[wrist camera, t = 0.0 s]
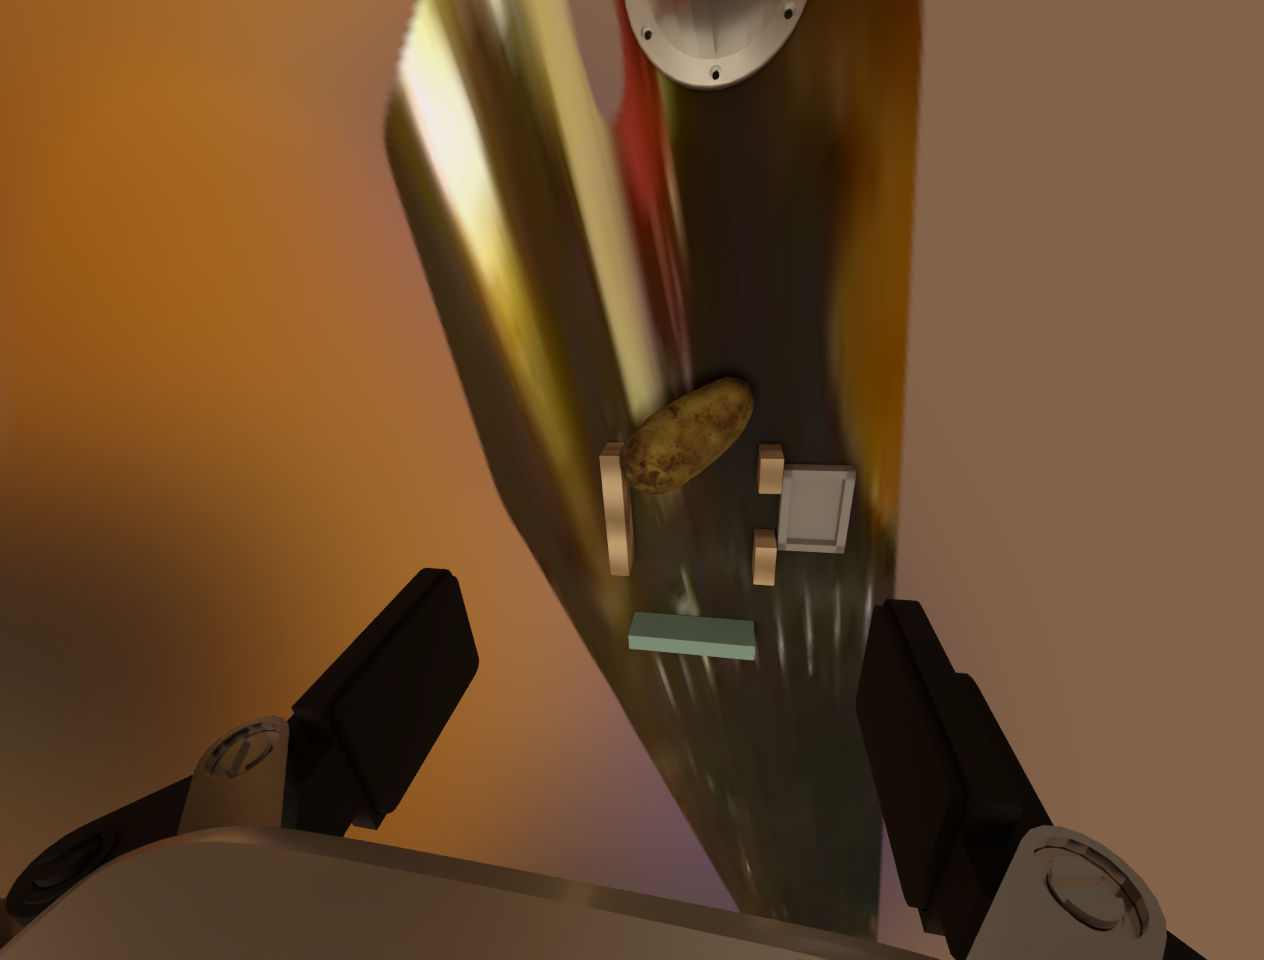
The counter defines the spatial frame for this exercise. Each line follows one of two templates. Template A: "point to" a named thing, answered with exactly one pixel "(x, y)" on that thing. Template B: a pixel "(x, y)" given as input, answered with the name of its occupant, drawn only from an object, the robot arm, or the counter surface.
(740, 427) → the potato
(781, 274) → the counter surface
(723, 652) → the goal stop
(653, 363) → the counter surface
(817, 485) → the grey tray
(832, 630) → the counter surface
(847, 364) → the counter surface
